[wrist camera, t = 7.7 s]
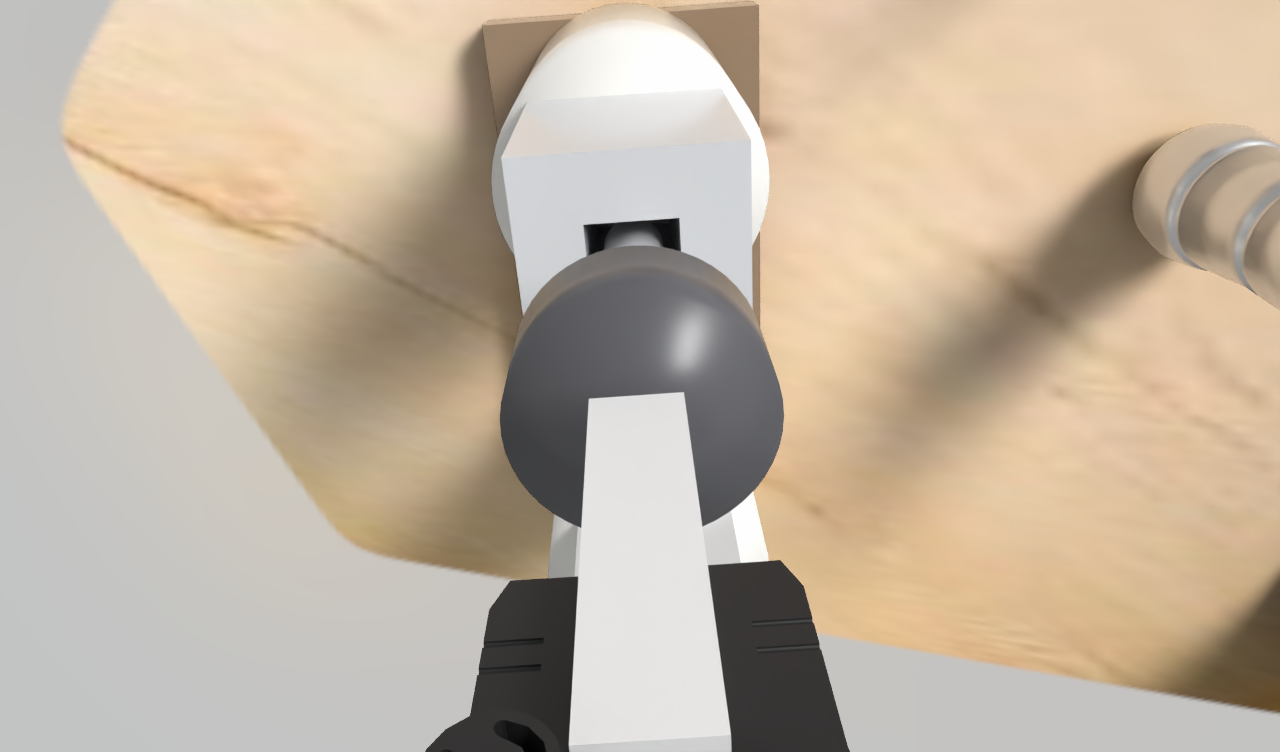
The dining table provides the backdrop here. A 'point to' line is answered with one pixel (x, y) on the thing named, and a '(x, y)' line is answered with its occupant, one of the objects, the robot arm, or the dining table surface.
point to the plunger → (641, 369)
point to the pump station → (632, 162)
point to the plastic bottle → (1216, 204)
